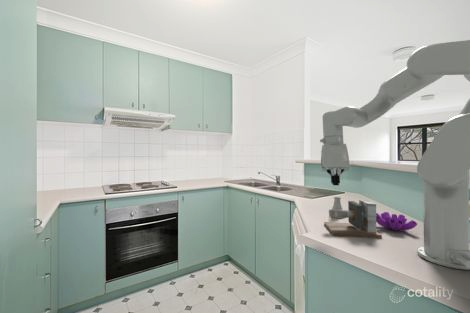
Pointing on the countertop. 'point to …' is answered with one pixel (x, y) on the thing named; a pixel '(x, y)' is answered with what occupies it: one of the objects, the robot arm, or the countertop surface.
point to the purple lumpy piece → (394, 221)
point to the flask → (337, 205)
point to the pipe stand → (348, 228)
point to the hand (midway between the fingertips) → (335, 185)
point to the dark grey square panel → (355, 214)
